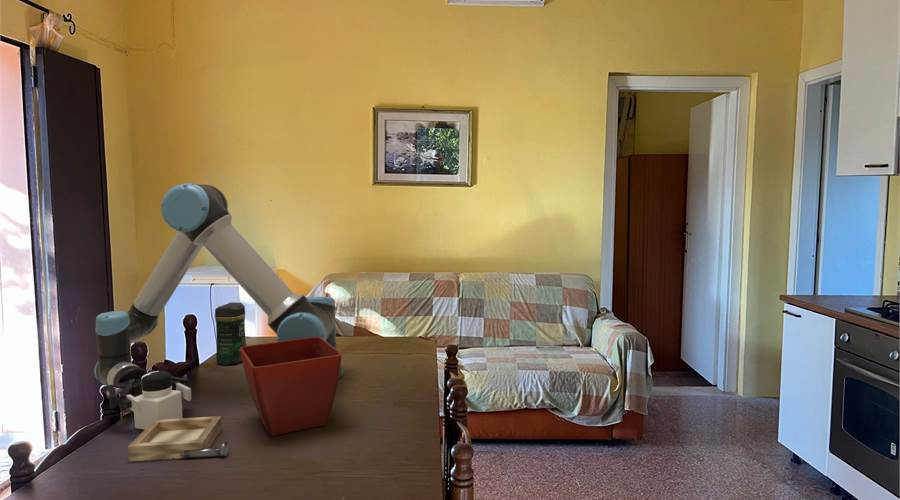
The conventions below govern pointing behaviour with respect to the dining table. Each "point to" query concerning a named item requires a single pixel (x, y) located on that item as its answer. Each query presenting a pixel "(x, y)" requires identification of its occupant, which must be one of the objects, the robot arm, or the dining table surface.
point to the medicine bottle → (157, 400)
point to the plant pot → (292, 382)
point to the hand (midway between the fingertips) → (165, 401)
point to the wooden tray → (174, 437)
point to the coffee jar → (230, 332)
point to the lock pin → (206, 452)
